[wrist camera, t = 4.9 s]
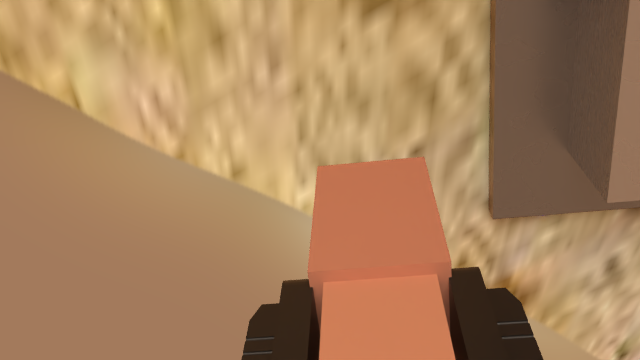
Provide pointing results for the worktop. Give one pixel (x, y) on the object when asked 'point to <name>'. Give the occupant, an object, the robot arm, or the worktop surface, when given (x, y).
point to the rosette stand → (564, 106)
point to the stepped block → (379, 263)
